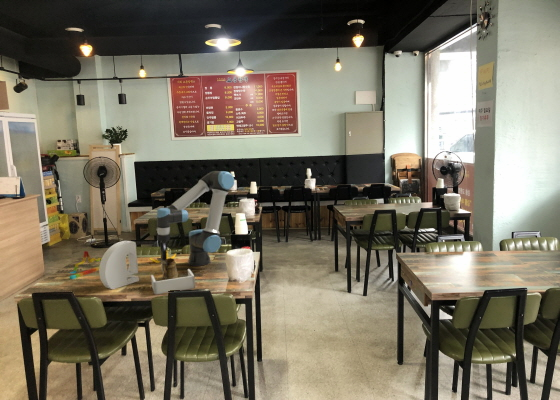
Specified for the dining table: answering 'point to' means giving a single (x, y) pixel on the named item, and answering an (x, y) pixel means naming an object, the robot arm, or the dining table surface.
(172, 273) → the wooden mug
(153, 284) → the box
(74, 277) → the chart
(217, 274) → the dining table surface
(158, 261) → the banana peel
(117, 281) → the bracket
